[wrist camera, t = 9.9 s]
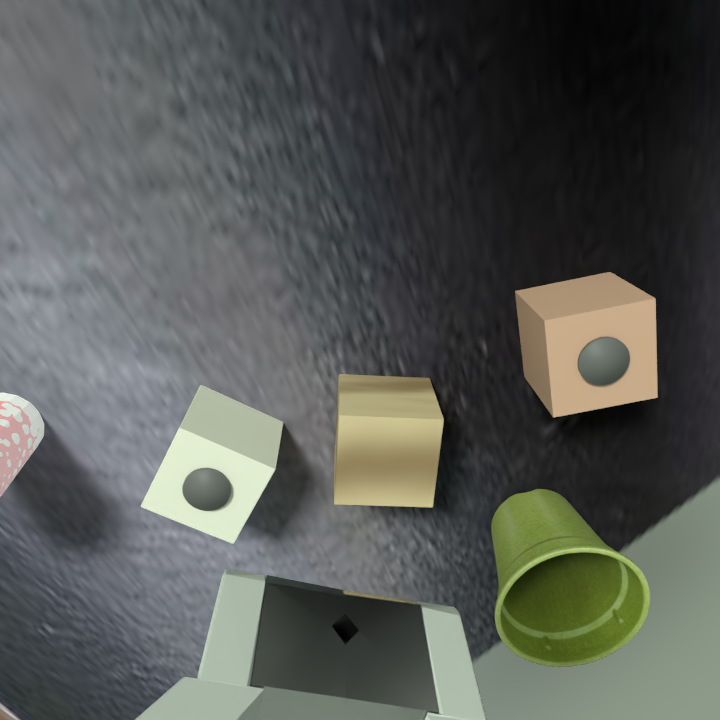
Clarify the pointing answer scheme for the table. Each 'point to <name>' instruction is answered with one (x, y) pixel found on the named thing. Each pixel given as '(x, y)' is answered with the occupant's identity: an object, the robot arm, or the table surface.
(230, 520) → the dot block cream
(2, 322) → the table surface
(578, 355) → the dot block tan
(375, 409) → the oak block
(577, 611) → the plant pot
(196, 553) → the table surface
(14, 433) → the beverage cup
